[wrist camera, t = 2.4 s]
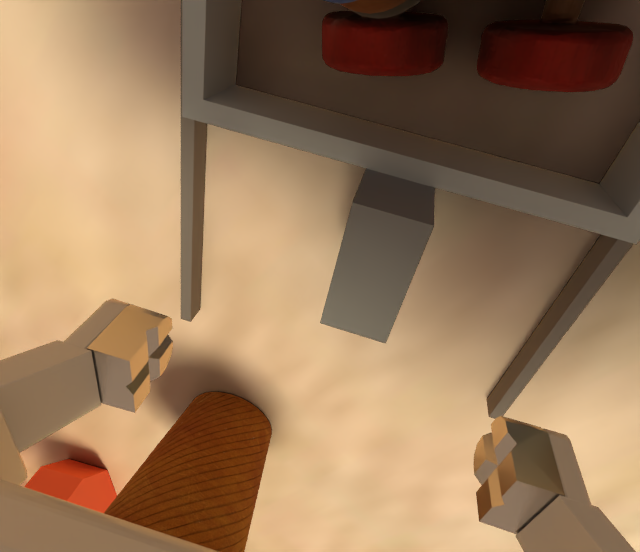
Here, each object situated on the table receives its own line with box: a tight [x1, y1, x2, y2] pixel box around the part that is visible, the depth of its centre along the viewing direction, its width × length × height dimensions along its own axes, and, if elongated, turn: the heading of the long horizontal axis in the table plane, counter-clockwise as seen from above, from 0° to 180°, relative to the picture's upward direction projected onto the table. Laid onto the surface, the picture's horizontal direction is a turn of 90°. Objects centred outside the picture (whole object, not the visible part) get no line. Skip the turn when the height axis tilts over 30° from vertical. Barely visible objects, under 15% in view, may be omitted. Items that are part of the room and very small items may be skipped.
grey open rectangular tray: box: [182, 0, 640, 343], centre depth 13 cm, size 17×18×6 cm
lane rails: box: [181, 0, 633, 419], centre depth 16 cm, size 30×26×1 cm
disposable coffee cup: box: [104, 392, 271, 552], centre depth 26 cm, size 10×10×12 cm
